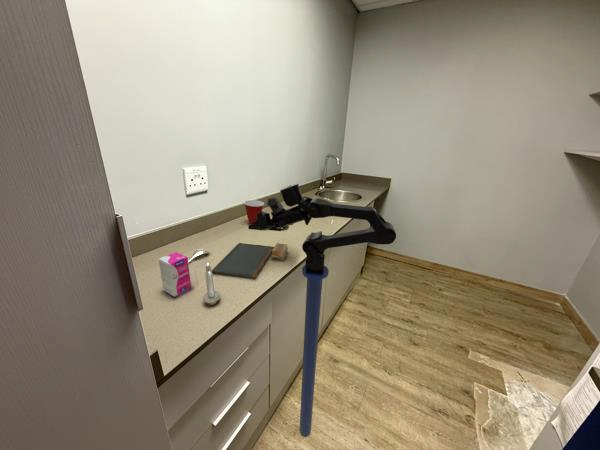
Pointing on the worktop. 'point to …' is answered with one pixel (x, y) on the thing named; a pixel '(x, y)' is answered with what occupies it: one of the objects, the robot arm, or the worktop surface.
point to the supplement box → (175, 274)
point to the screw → (210, 288)
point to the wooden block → (279, 252)
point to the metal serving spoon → (198, 253)
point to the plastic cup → (253, 209)
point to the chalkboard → (244, 261)
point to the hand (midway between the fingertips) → (255, 228)
